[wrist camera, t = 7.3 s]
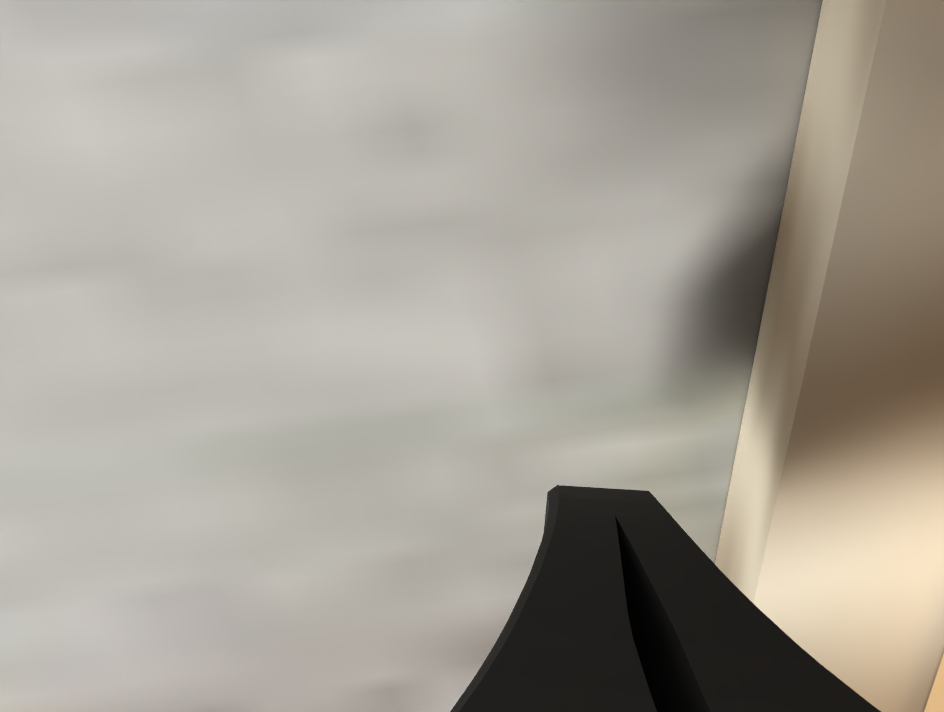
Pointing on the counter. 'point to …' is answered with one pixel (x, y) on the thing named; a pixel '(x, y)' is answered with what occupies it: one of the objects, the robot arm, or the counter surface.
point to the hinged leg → (937, 692)
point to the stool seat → (854, 367)
